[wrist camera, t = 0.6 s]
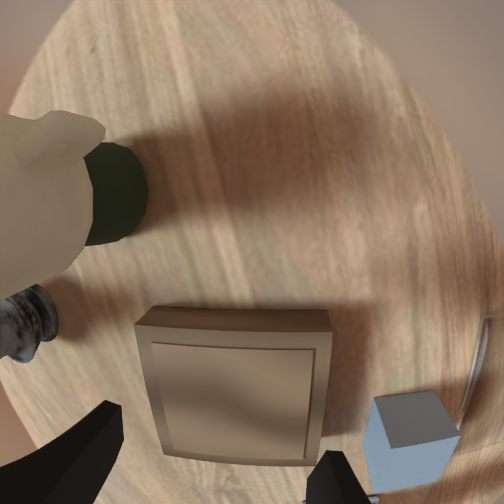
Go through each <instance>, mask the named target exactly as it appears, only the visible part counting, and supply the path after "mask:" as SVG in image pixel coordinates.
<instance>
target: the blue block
mask: <svg viewBox="0 0 504 504" xmlns="http://www.w3.org/2000/svg"><path fill="white" fill-rule="evenodd" d="M460 436H461V435H460V433H459V431H458V430H457V428H456V426H455V424H454V423H453V421H452V419H451V418H450V416H449V414H448V412H447V411H446V409H445V407H444V406H443V404H442V402H441V401H440V399H439V398H438V396H437V394H436V393H435V391H434V390H432V391H425V392H417V393H410V394H401V395H392V396H382V397H373V402H372V406H371V411H370V415H369V419H368V423H367V427H366V431H365V435H364V439H363V442H362V445H363V449H364V453H365V458H366V462H367V467H368V471H369V476H370V481H371V485H372V490H373V494H374V493H381V492H387V491H393V490H399V489H404V488H410V487H415V486H419V485H424V484H428V483H432V482H436V481H437V480H438V478H439V477H440V475H441V473H442V471H443V470H444V468H445V466H446V464H447V462H448V460H449V458H450V456H451V454H452V452H453V450H454V448H455V446H456V444H457V442H458V440H459V438H460Z"/></svg>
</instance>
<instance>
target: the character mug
mask: <svg viewBox="0 0 504 504" xmlns="http://www.w3.org/2000/svg"><path fill="white" fill-rule="evenodd" d="M105 131H106V129H105V127H104V126H103V125H102V124H101V123H99V122H98V121H97V120H95V119H93V118H89V117H86V116H82V115H78V114H74V113H70V112H66V111H62V110H59V111H50V112H48V113H47V114H45V115H44V116H42V117H41V118H39V119H38V120H31V119H24V118H19V117H16V116H12V115H9V114H3V113H0V301H1V300H3V299H6V298H8V297H10V296H12V295H14V294H16V293H18V292H20V291H22V290H24V289H26V288H28V287H30V286H33V285H35V284H37V283H39V282H41V281H43V280H45V279H48V278H50V277H52V276H54V275H56V274H59V273H61V272H63V271H64V270H66V269H67V268H68V267H69V266H70V265H71V264H72V263H73V261H74V260H75V259H76V258H77V256H78V255H79V254H80V253H81V252H82V250H83V249H84V246H92V245H101V244H106V243H111V242H116V241H119V240H120V239H122V238H123V237H125V236H127V235H128V234H130V233H131V232H133V231H134V230H135V228H136V226H137V225H138V223H139V221H140V220H141V218H142V216H143V214H144V213H145V205H146V196H147V185H146V181H145V177H144V173H143V169H142V166H141V164H140V163H139V161H138V160H137V158H136V157H135V156H134V154H133V153H132V151H131V150H130V149H128V148H125V147H123V146H120V145H118V144H115V143H106V142H102V141H103V140H104V139H105Z"/></svg>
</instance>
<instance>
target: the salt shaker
mask: <svg viewBox="0 0 504 504" xmlns="http://www.w3.org/2000/svg"><path fill="white" fill-rule="evenodd" d="M58 326H59V324H58V316H57V312H56V309H55V307H54V304H53V302H52V300H51V299H50V297H49V296H48V294H47V293H46V292H45V291H44V290H43V289H42V288H41V287H40V286H38V285H37V284H35V285H33V286H30V287H28V288H26V289H24V290H22V291H20V292H18V293H16V294H14V295H12V296H10V297H8V298H6V299H3V300H1V301H0V359H1V358H2V357H4V356H6V355H8V356H9V357H10V358H11V359H13V360H15V361H17V362H20V363H27V362H30V361H31V360H32V359H33V357H34V355H35V351H36V350H37V349H38V346H39V344H40V342H41V341H42V342H48V341H51V340H52V339H54V338H55V337H56V334H57V332H58Z"/></svg>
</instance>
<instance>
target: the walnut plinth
mask: <svg viewBox="0 0 504 504" xmlns="http://www.w3.org/2000/svg"><path fill="white" fill-rule="evenodd" d="M134 328H135V334H136V339H137V345H138V350H139V355H140V360H141V365H142V370H143V375H144V380H145V384H146V389H147V393H148V397H149V401H150V405H151V409H152V413H153V417H154V421H155V425H156V429H157V432H158V436H159V440H160V443H161V446H162V450H163V453H164V455H169V456H175V457H181V458H187V459H194V460H201V461H209V462H218V463H228V464H240V465H256V466H316V463H317V458H318V452H319V445H320V439H321V433H322V426H323V419H324V411H325V404H326V396H327V388H328V379H329V370H330V360H331V350H332V339H333V330H332V326H331V323H330V319H329V316H328V313H327V310H230V309H200V308H178V307H159V306H153V307H152V308H151V309H150V310H149V311H148V312H147V313H146V314H145V315H144V316H143V317H141V318H140V319H139V320H138V321H137V322H136V323H135V324H134Z"/></svg>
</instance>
